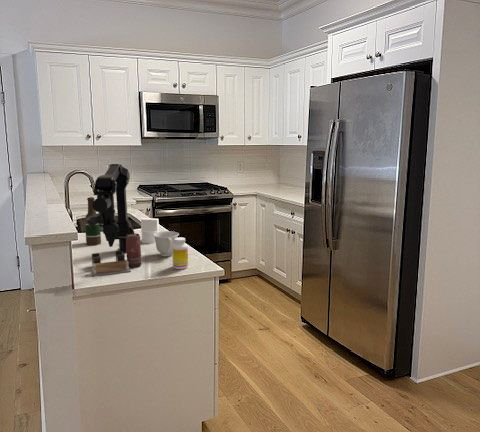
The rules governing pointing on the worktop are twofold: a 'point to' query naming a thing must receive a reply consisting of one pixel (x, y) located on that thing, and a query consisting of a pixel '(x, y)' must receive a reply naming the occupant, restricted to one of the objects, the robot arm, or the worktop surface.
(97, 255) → the post
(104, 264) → the rail
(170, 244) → the teacup
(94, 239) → the beer bottle
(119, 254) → the post
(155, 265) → the worktop surface
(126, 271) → the mat
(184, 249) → the supplement bottle
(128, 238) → the can
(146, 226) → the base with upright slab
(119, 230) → the robot arm
